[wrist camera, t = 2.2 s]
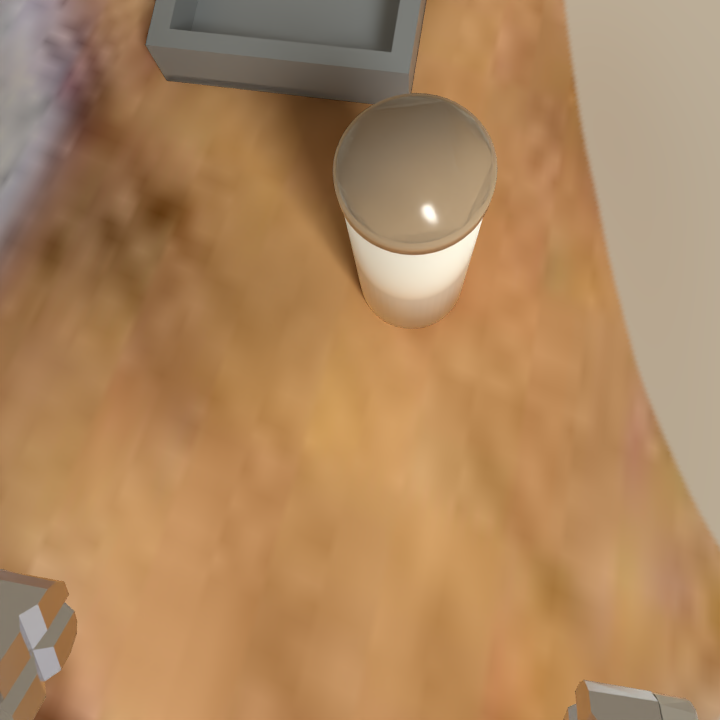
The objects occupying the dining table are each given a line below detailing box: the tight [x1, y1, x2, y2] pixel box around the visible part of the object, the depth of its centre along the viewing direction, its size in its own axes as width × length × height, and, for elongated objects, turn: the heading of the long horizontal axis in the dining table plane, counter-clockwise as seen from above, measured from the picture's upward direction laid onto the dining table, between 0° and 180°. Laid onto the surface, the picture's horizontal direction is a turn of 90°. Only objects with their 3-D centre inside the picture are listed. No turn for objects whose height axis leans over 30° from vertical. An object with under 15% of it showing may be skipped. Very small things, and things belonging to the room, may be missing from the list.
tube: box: [333, 93, 497, 329], centre depth 27 cm, size 5×5×12 cm
